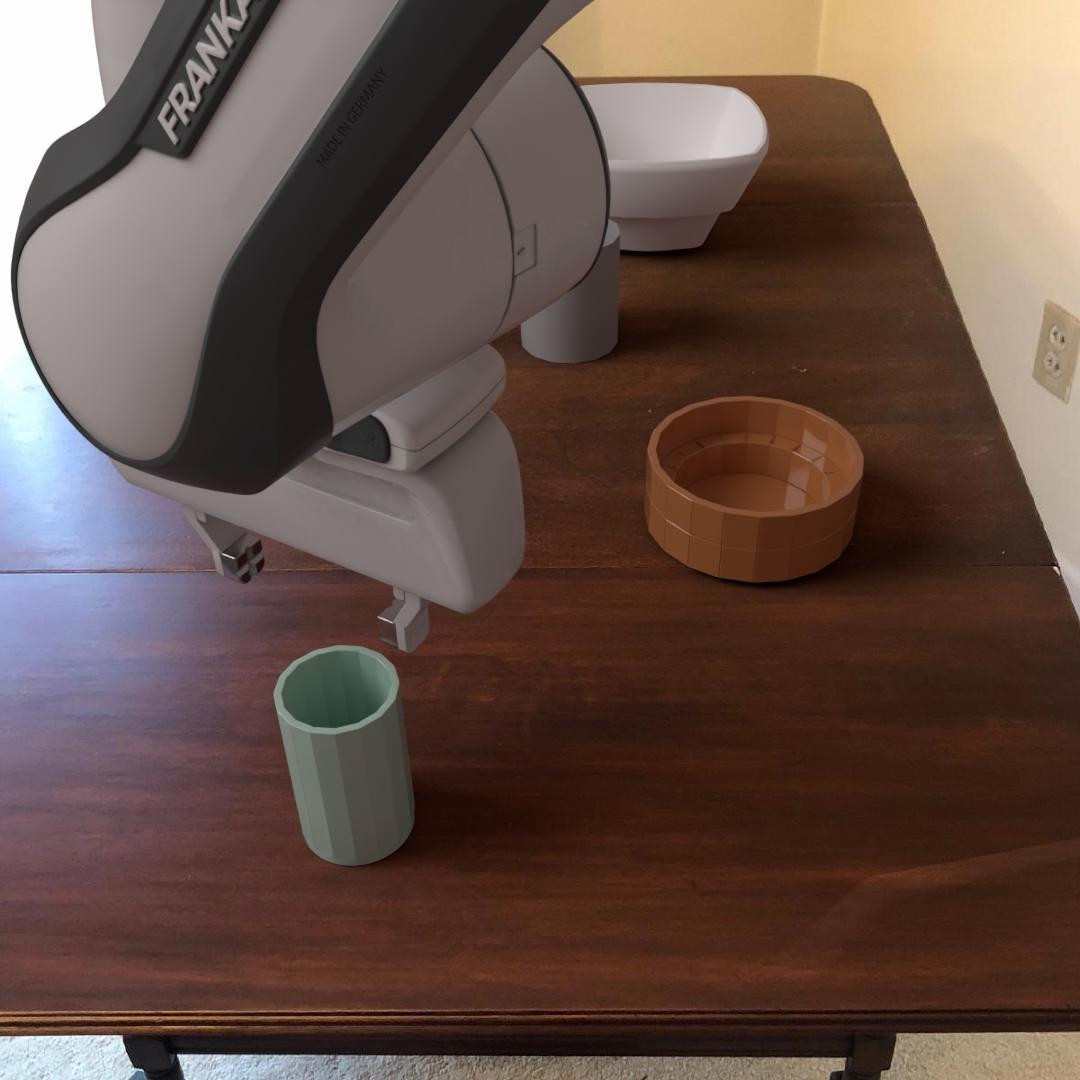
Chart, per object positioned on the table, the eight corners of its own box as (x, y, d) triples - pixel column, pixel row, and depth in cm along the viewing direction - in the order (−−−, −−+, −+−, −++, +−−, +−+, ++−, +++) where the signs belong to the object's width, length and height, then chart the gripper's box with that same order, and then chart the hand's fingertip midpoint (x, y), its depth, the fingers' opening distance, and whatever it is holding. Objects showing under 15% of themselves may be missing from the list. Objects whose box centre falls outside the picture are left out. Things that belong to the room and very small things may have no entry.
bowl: (770, 283, 114) (784, 162, 107) (533, 284, 114) (531, 164, 107) (744, 190, 131) (754, 80, 124) (538, 191, 132) (536, 82, 125)
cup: (635, 347, 105) (639, 238, 99) (552, 373, 102) (551, 262, 96) (583, 308, 111) (584, 202, 105) (504, 331, 108) (500, 224, 101)
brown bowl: (893, 529, 85) (908, 457, 81) (754, 619, 77) (763, 545, 74) (740, 443, 93) (747, 375, 89) (603, 517, 86) (604, 446, 82)
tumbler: (437, 824, 65) (423, 691, 59) (342, 886, 62) (316, 753, 56) (373, 759, 69) (354, 628, 63) (281, 815, 66) (251, 683, 60)
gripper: (27, 311, 49) (106, 572, 58) (451, 451, 41) (469, 730, 50) (139, 251, 54) (197, 502, 62) (543, 367, 46) (545, 638, 54)
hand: (321, 605), depth 56 cm, fingers open, 8 cm apart
